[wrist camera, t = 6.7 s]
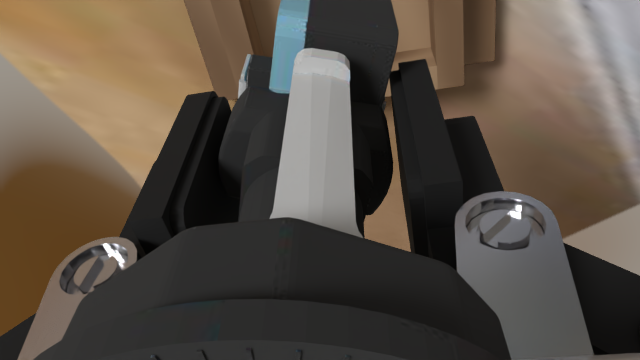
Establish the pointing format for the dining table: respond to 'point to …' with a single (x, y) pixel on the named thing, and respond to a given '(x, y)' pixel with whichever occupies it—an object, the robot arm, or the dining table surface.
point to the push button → (295, 227)
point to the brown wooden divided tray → (413, 44)
